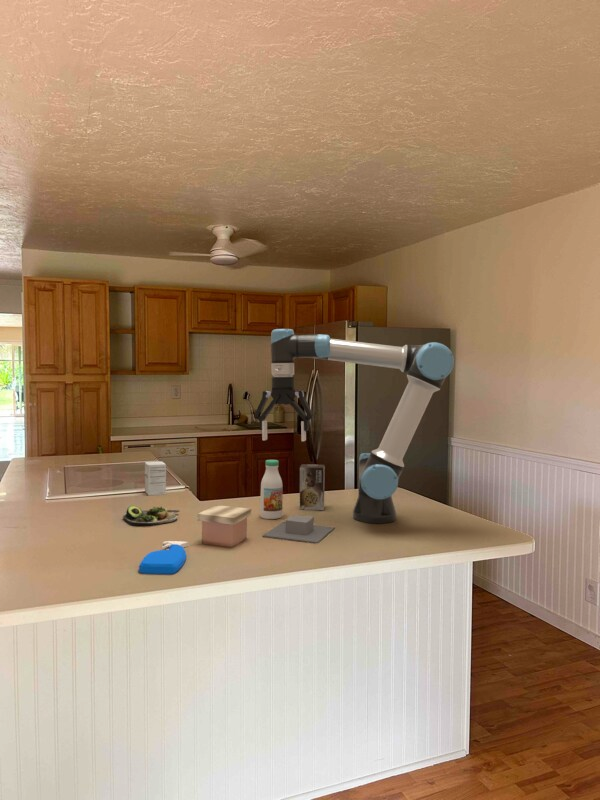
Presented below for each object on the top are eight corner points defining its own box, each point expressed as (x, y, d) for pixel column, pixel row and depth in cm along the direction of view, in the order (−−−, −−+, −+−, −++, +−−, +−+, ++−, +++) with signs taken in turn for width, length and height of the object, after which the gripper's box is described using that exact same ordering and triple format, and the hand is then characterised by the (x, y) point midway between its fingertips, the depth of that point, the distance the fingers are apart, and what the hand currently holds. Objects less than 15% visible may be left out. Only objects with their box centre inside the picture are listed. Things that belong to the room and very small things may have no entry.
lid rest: (334, 528, 197) (334, 515, 197) (317, 543, 180) (317, 529, 180) (283, 522, 203) (283, 509, 203) (262, 537, 187) (262, 522, 186)
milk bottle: (256, 517, 210) (256, 460, 209) (267, 513, 217) (268, 458, 216) (275, 520, 206) (276, 462, 205) (286, 515, 213) (287, 459, 212)
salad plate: (170, 510, 219) (171, 498, 219) (190, 521, 204) (190, 508, 204) (117, 517, 209) (117, 504, 208) (134, 529, 194) (134, 515, 193)
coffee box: (324, 506, 228) (325, 464, 227) (323, 510, 222) (324, 467, 221) (300, 505, 229) (301, 463, 228) (298, 509, 223) (299, 466, 222)
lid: (251, 515, 185) (251, 508, 185) (234, 524, 174) (234, 517, 174) (216, 511, 189) (216, 505, 189) (197, 520, 178) (197, 513, 178)
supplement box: (144, 492, 248) (144, 461, 247) (162, 490, 251) (162, 460, 250) (147, 495, 241) (147, 464, 240) (166, 494, 244) (166, 463, 244)
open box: (246, 538, 185) (246, 515, 185) (232, 547, 176) (232, 523, 175) (217, 534, 188) (217, 512, 188) (201, 543, 179) (202, 519, 179)
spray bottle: (178, 564, 152) (196, 538, 177) (135, 563, 152) (159, 537, 177) (178, 576, 152) (195, 548, 177) (135, 575, 152) (159, 547, 177)
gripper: (243, 376, 198) (244, 440, 199) (316, 376, 191) (317, 442, 192) (252, 376, 205) (253, 438, 206) (322, 375, 198) (323, 439, 199)
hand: (284, 440), depth 199 cm, fingers open, 13 cm apart
